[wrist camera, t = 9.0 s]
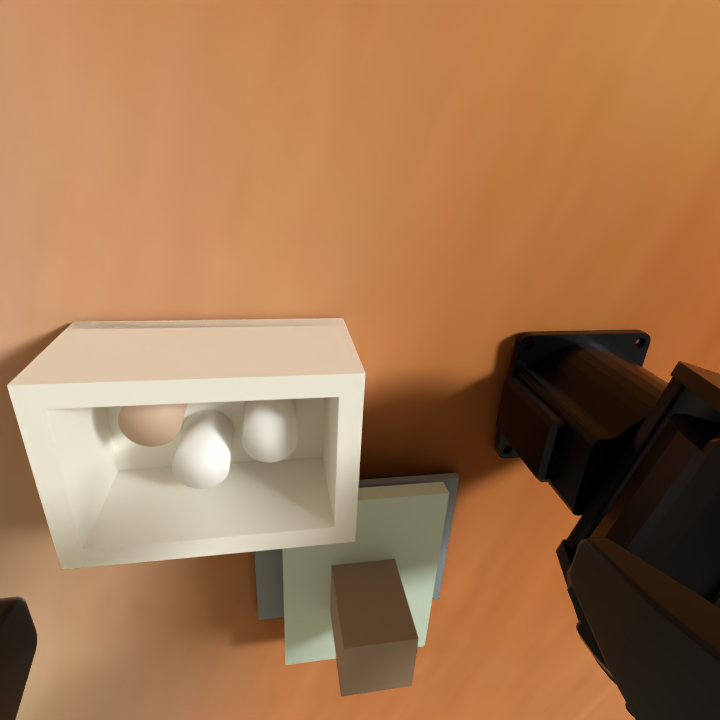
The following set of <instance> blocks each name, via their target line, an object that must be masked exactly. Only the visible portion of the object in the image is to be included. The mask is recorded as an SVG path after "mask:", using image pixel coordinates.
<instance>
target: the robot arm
mask: <svg viewBox="0 0 720 720" xmlns="http://www.w3.org/2000/svg"><path fill="white" fill-rule="evenodd" d="M638 339H639V341H638V342H637V343H636V341H637V340H638ZM530 340H531V343H530V345H529V346H528V347H525V348H524V345H525V343H526V342H528V341H530ZM635 343H636V344H635ZM649 344H650V336H649V335H648V334H647V333H645V332H643V331H641V330H597V331H545V332H524V333H522V334H520V335H519V336H518V337H517V339H516V341H515V345H514V350H513V355H512V360H511V365H510V370H509V375H508V378H507V379H506V380H505V382H504V387H503V392H502V397H501V402H500V407H499V413H498V418H497V423H496V427H497V428H498V430H497V435H496V440H495V445H494V449H495V451H496V452H497V454H498V455H499V456H500V457H501V458H516V457H520V458H521V459H522V460H523V461H524V463H525V464H526V465H527V467H528V468H529V469H530V470H531V472H532V473H533V474H534V476H535V477H536V478H537V479H538V480H539V481H540V482H548V483H549V484H550V485H551V487H552V488H553V489H554V490H555V492H556V493H557V494H558V495H559V497H560V498H561V499H562V500H563V502H564V503H565V504H566V505H567V507H568V508H569V509H570V510H571V511H572V513H573V514H574V515H578V516H579V515H582V516H581V518H580V520H579V521H578V523H577V524H576V526H575V527H574V529H573V530H572V532H571V533H570V535H569V536H568V538H567V539H566V540H563V541H562V542H561V544H560V545H559V547H558V548H557V550H556V553H557V556H558V559H559V562H560V565H561V568H562V571H563V575H564V578H565V581H566V584H567V588H568V593H569V595H570V598H571V600H572V602H573V605H574V608H575V611H576V615H577V618H578V621H579V622H578V623H577V626H576V628H577V631H578V633H579V635H580V638H581V639H582V641H583V642H584V643H585V645H586V646H587V648H588V649H589V650H590V652H591V653H592V655H593V656H594V658H595V660H596V661H597V663H598V664H599V665H600V667H601V668H602V669H603V670H604V672H605V673H606V674H607V675H608V676H609V678H610V679H611V680H612V681H613V682H614V683H615V684H616V685H617V686H618V688H619V690H620V692H621V694H622V695H623V697H624V699H625V701H626V704H625V706H626V709H627V710H628V712H629V713H630V714H631V715H632V716H633V717H635V719H636V720H720V374H718V373H715V372H712V371H709V370H706V369H703V368H700V367H697V366H694V365H691V364H688V363H685V362H681V361H679V362H678V364H677V365H676V367H675V368H674V370H673V371H672V373H671V374H670V375H671V376H672V379H671V380H670V382H669V383H667V382H665V381H664V380H662V379H660V378H659V377H657V376H656V375H654V374H652V373H651V372H649V371H647V370H646V369H644V368H643V367H642V365H643V362H644V359H645V356H646V353H647V350H648V347H649ZM505 446H508V447H507V448H506V449H503V448H504V447H505ZM36 646H37V633H36V629H35V626H34V623H33V621H32V618H31V615H30V612H29V609H28V606H27V603H26V602H25V600H24V599H23V598H21V597H10V598H0V720H15V719H16V716H17V713H18V709H19V706H20V702H21V699H22V696H23V692H24V689H25V685H26V682H27V678H28V675H29V672H30V668H31V665H32V661H33V658H34V654H35V651H36Z"/></svg>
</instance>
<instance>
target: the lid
mask: <svg viewBox="0 0 720 720" xmlns="http://www.w3.org/2000/svg"><path fill="white" fill-rule="evenodd" d="M448 498H449V492H448V490H447V488H446V486H445V484H444V482H432V483H419V484H406V485H392V486H379V487H366V488H358V504H357V521H356V537H355V542H346V543H336V544H326V545H315V546H305V547H294V548H284V549H282V550H283V591H284V631H285V665H290V664H297V663H304V662H312V661H319V660H326V659H333V658H336V660H337V668H338V676H339V684H340V691H341V696H347V695H354V694H360V693H367V692H373V691H380V690H386V689H393V688H399V687H406V686H411V685H412V679H413V672H414V666H415V659H416V653H417V647H420V646H425V640H426V634H427V628H428V621H429V615H430V609H431V603H432V597H433V591H434V584H435V578H436V572H437V566H438V560H439V554H440V547H441V541H442V535H443V529H444V523H445V517H446V510H447V504H448Z"/></svg>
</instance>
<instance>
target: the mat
mask: <svg viewBox="0 0 720 720" xmlns="http://www.w3.org/2000/svg"><path fill="white" fill-rule="evenodd" d="M432 482H444V484H445V486H446V488H447V490H448V492H449V498H448V504H447V510H446V517H445V523H444V529H443V535H442V541H441V547H440V554H439V560H438V566H437V572H436V578H435V584H434V591H433V597H432V599H439V595H440V589H441V583H442V578H443V572H444V566H445V560H446V554H447V548H448V542H449V536H450V530H451V524H452V518H453V513H454V507H455V501H456V495H457V489H458V483H459V476H458V475H457V473H446V474H433V475H419V476H405V477H392V478H378V479H365V480H359V487H358V488H366V487H379V486H392V485H406V484H419V483H432ZM254 555H255V572H256V589H257V605H258V620H267V619H275V618H283V617H284V591H283V550H282V549H274V550H263V551H254Z"/></svg>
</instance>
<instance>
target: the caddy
mask: <svg viewBox="0 0 720 720" xmlns="http://www.w3.org/2000/svg"><path fill="white" fill-rule="evenodd" d="M364 386H365V371H364V369H363V366H362V364H361V362H360V359H359V357H358V354H357V352H356V349H355V347H354V344H353V342H352V339H351V337H350V334H349V332H348V330H347V327H346V325H345V322H344V320H343V318H320V319H243V320H166V321H89V322H72V323H71V324H70V325H69V326H68V327H67V328H66V329H65V330H64V331H63V332H62V333H61V334H60V335H59V336H58V337H57V338H56V339H55V340H54V341H53V342H52V343H51V344H50V345H49V346H47V347H46V348H45V349H44V350H43V351H42V352H41V353H40V354H39V355H38V356H37V357H36V358H35V359H34V360H33V361H32V362H31V363H30V364H29V365H28V366H27V367H26V368H25V369H24V370H22V371H21V372H20V373H19V374H18V375H17V376H16V377H15V378H14V379H13V380H12V381H11V382H10V383H9V384H8V385H7V387H8V391H9V394H10V398H11V401H12V404H13V408H14V411H15V415H16V418H17V421H18V425H19V428H20V431H21V435H22V438H23V442H24V445H25V448H26V452H27V455H28V459H29V462H30V465H31V469H32V472H33V475H34V479H35V482H36V486H37V489H38V492H39V496H40V499H41V503H42V506H43V509H44V513H45V516H46V520H47V523H48V526H49V530H50V533H51V536H52V540H53V543H54V547H55V550H56V553H57V557H58V560H59V564H60V567H61V570H66V569H77V568H87V567H97V566H108V565H118V564H128V563H139V562H149V561H160V560H170V559H180V558H191V557H201V556H211V555H222V554H232V553H243V552H253V551H263V550H274V549H284V548H294V547H305V546H315V545H326V544H336V543H346V542H355V537H356V521H357V504H358V487H359V470H360V454H361V437H362V420H363V403H364Z"/></svg>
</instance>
